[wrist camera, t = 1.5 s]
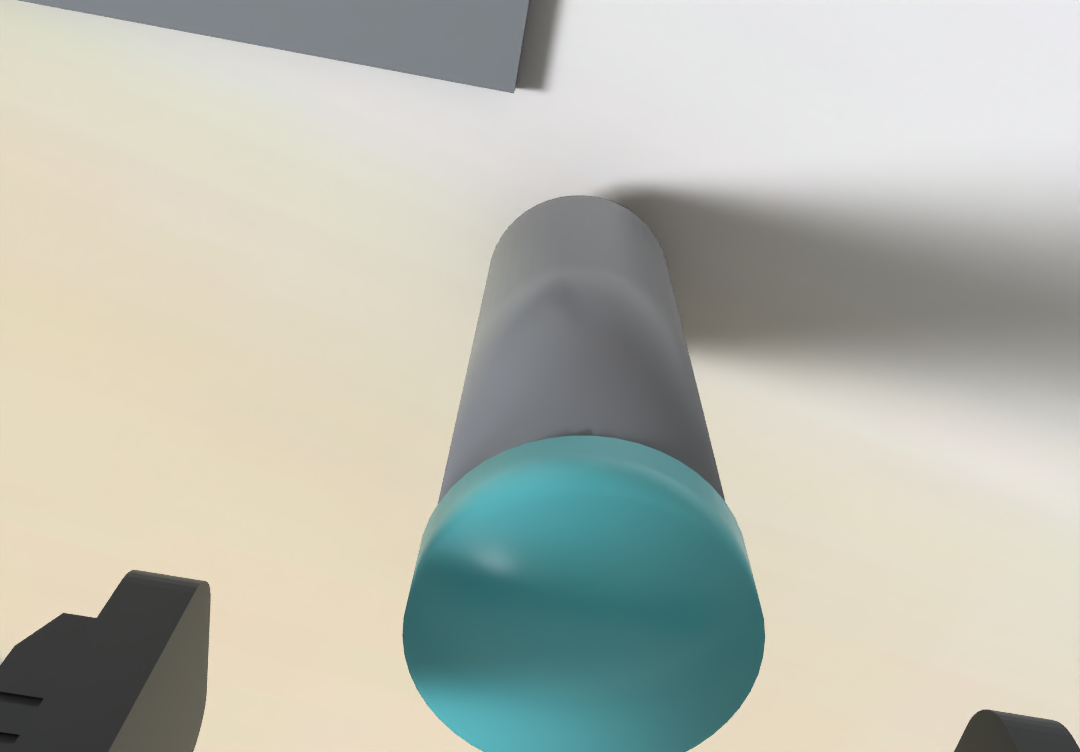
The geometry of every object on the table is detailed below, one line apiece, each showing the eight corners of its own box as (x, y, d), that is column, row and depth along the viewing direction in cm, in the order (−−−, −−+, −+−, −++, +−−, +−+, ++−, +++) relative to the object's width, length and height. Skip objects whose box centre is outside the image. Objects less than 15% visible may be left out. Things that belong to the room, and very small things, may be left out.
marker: (503, 159, 21) (427, 464, 10) (687, 193, 21) (810, 529, 10) (475, 329, 23) (384, 747, 12) (645, 359, 23) (713, 797, 12)
